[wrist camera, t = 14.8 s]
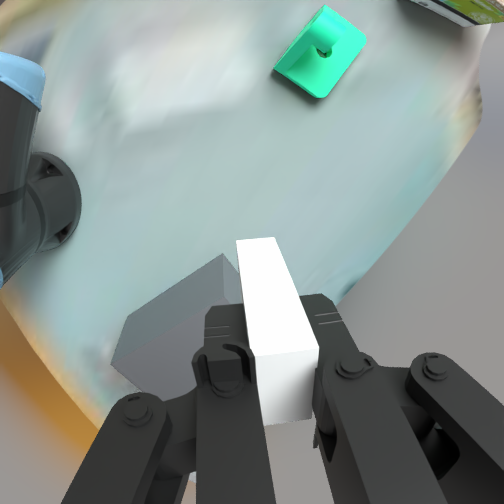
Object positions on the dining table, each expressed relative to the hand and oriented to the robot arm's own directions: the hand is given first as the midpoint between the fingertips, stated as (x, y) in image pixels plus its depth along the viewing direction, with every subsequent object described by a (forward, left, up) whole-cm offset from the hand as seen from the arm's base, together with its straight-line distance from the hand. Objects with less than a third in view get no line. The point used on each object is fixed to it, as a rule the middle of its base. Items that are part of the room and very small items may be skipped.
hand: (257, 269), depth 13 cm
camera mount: (+13, +15, -33) cm, 38 cm away
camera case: (-8, -24, -32) cm, 41 cm away
